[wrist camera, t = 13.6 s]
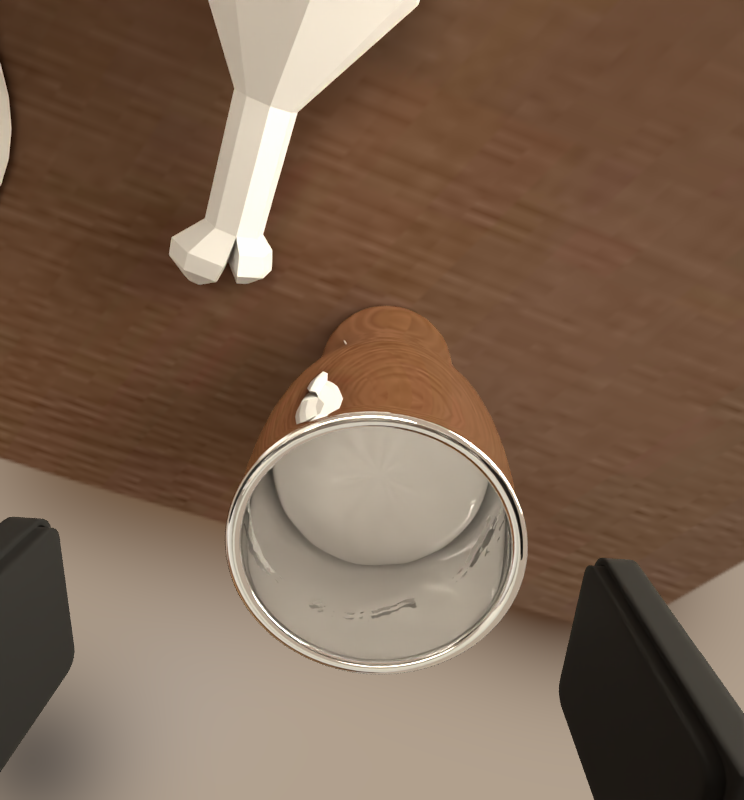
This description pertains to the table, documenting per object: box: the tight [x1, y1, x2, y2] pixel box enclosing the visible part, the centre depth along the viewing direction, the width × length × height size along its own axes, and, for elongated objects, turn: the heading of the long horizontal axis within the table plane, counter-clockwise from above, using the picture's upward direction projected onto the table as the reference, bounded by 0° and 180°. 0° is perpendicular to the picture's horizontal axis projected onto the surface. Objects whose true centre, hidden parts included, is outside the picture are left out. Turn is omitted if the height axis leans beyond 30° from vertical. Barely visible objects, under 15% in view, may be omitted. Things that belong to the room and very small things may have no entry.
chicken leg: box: [169, 0, 420, 285], centre depth 20 cm, size 8×18×8 cm, turn 158°
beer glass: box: [225, 306, 528, 674], centre depth 19 cm, size 7×7×15 cm
